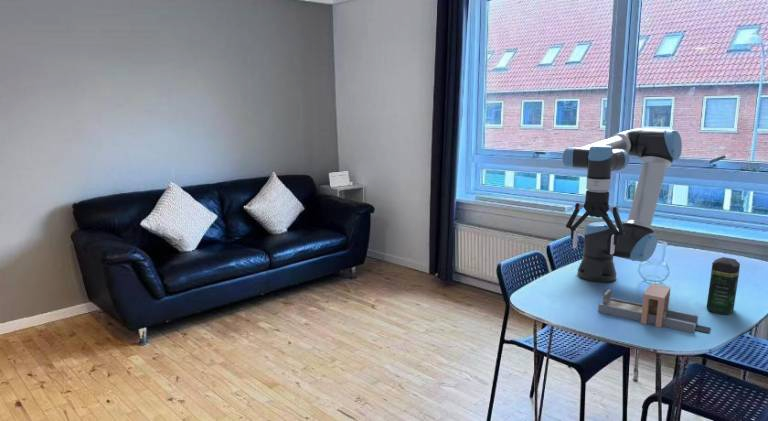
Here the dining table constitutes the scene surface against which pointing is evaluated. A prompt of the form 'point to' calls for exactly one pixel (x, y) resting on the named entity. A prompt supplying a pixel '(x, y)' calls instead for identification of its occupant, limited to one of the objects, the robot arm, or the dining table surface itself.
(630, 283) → the dining table surface
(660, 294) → the tunnel
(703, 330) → the dark grey flat block
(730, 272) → the coffee jar
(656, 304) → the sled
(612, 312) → the rail
